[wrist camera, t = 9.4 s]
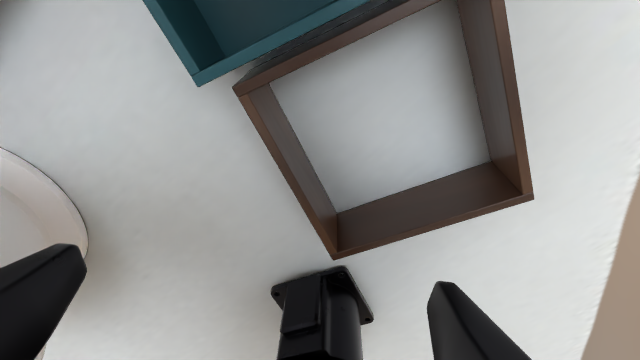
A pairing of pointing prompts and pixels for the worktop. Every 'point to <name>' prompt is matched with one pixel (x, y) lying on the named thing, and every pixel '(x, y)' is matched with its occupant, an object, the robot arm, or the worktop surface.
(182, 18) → the teal tote
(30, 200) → the decorative vase
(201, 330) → the worktop surface
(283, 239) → the worktop surface
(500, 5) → the walnut frame
